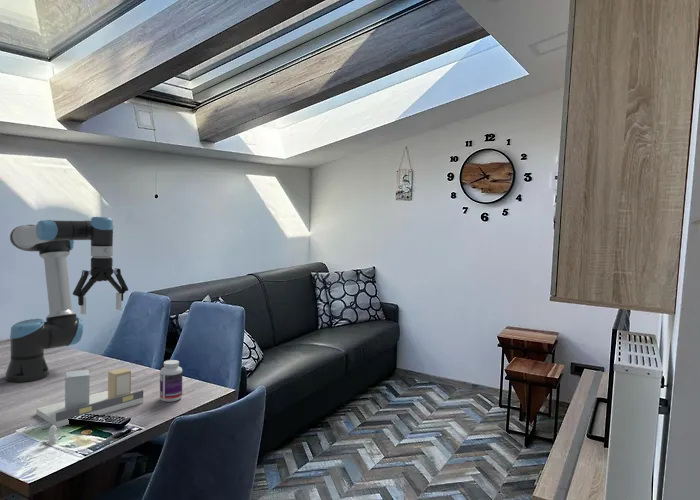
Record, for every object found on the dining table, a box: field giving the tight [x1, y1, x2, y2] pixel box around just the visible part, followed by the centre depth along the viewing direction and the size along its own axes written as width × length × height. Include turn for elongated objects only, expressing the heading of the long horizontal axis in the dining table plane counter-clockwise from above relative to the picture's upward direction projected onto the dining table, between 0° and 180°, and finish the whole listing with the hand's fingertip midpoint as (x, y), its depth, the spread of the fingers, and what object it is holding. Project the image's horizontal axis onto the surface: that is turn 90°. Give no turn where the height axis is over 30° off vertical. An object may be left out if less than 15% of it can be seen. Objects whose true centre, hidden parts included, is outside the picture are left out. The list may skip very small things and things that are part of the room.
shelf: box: [36, 389, 144, 429], centre depth 178 cm, size 16×30×5 cm, turn 143°
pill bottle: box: [159, 359, 183, 403], centre depth 190 cm, size 8×8×14 cm
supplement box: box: [64, 369, 91, 411], centre depth 172 cm, size 7×7×13 cm
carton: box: [107, 367, 132, 399], centre depth 184 cm, size 5×6×10 cm
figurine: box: [41, 425, 62, 446], centre depth 151 cm, size 8×8×6 cm
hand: (101, 311), depth 193 cm, fingers open, 13 cm apart
